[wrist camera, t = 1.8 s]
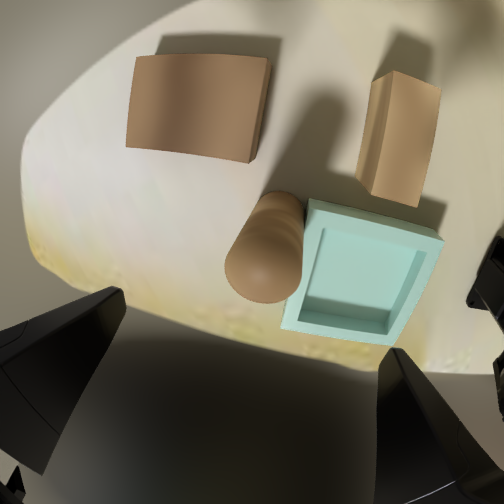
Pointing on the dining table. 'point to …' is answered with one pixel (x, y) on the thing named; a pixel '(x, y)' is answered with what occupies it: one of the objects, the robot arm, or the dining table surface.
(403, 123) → the block
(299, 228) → the oak dowel
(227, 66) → the walnut board
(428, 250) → the tray
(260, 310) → the dining table surface
